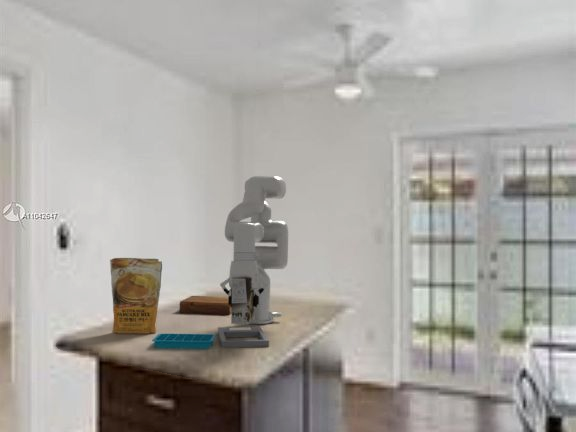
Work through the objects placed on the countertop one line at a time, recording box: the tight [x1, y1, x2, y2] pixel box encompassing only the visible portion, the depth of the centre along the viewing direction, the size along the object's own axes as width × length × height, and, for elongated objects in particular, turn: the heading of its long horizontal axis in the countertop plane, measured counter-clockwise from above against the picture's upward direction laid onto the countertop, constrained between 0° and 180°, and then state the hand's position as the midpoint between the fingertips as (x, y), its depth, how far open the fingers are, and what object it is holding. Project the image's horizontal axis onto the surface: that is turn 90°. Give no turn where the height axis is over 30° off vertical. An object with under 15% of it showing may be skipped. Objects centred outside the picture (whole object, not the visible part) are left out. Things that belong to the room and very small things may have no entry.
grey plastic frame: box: [217, 326, 270, 349], centre depth 211 cm, size 16×24×2 cm, turn 10°
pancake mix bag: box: [109, 257, 163, 335], centre depth 221 cm, size 7×19×28 cm, turn 91°
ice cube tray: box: [151, 332, 216, 350], centre depth 201 cm, size 12×20×3 cm, turn 89°
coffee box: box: [230, 277, 255, 326], centre depth 207 cm, size 9×6×16 cm
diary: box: [179, 295, 232, 316], centre depth 270 cm, size 23×19×6 cm
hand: (243, 306), depth 207 cm, fingers closed on coffee box, 8 cm apart
